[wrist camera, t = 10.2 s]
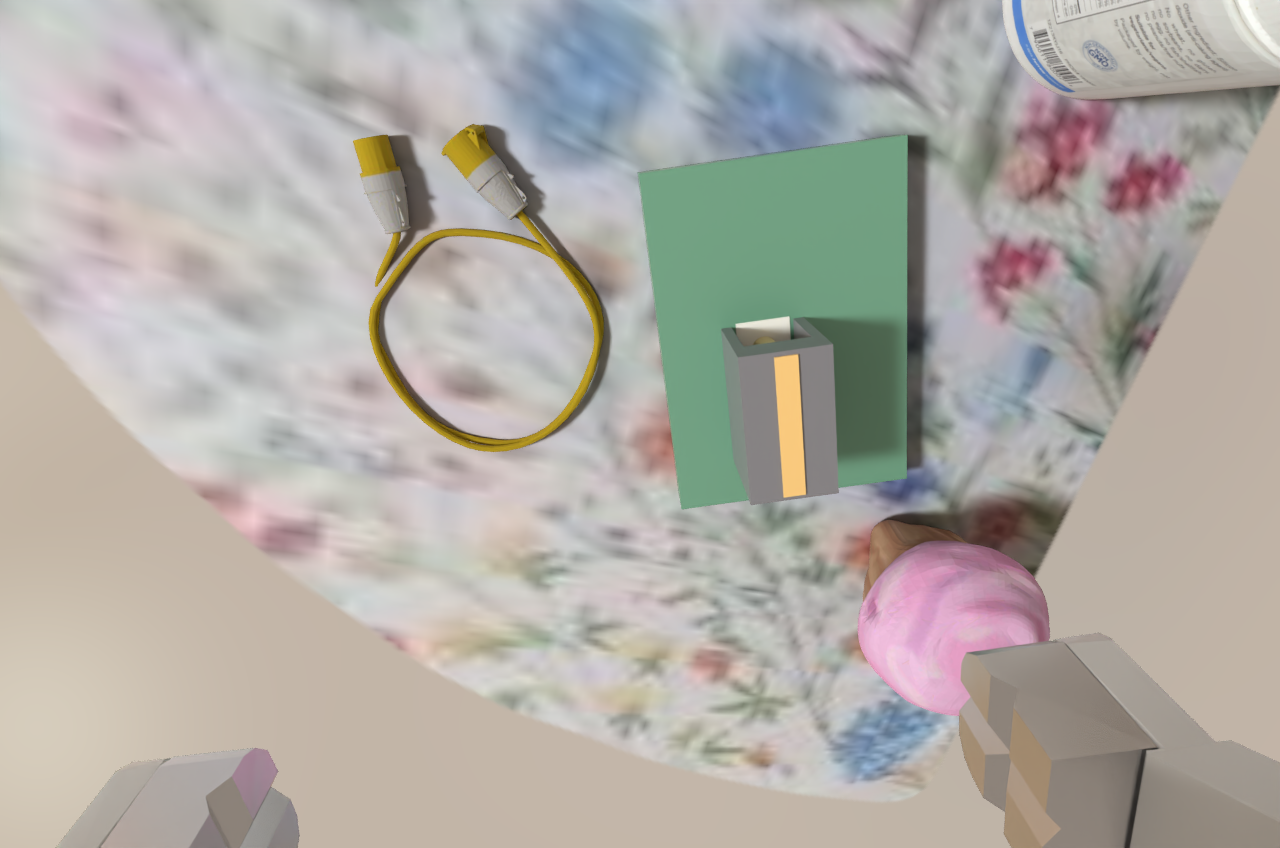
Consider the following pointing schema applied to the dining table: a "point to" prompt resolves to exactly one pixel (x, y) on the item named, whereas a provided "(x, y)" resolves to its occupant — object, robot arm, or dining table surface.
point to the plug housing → (783, 414)
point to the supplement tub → (1145, 45)
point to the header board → (782, 295)
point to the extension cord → (501, 193)
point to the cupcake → (941, 610)
